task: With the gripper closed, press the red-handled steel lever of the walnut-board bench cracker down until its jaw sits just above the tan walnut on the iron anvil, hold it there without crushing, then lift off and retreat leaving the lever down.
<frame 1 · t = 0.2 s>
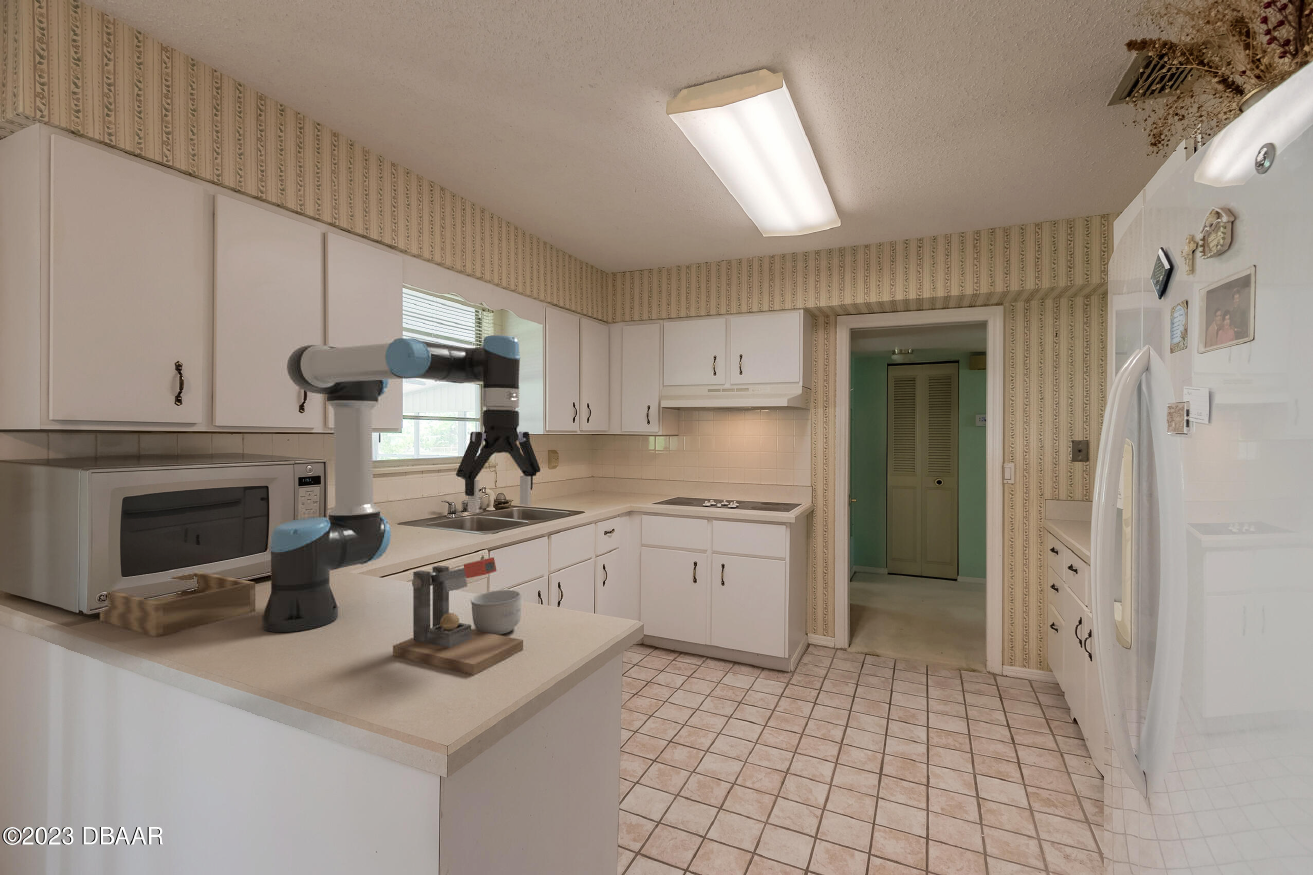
hand: (500, 508, 127), 28 cm above the countertop, fingers open, 13 cm apart
press base: (458, 652, 119), on the countertop
open wooden box: (179, 615, 142), on the countertop
lever: (458, 576, 119), point 15 cm above the countertop, hinge at -15.0°
walnut: (449, 621, 120), point 6 cm above the countertop, touching press base
teacup: (499, 629, 134), on the countertop
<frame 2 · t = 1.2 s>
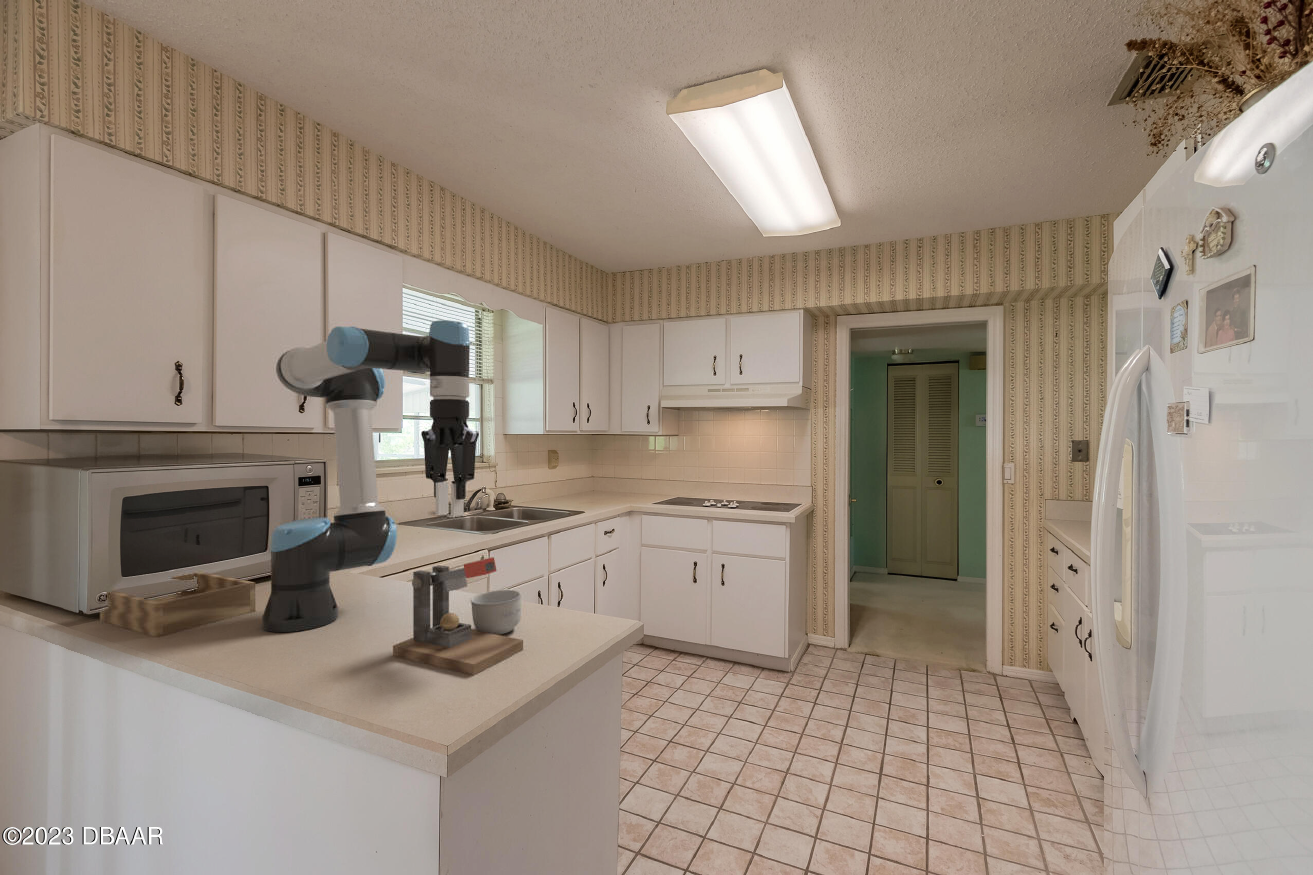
hand: (449, 514, 120), 28 cm above the countertop, fingers open, 3 cm apart
nothing on the countertop moved.
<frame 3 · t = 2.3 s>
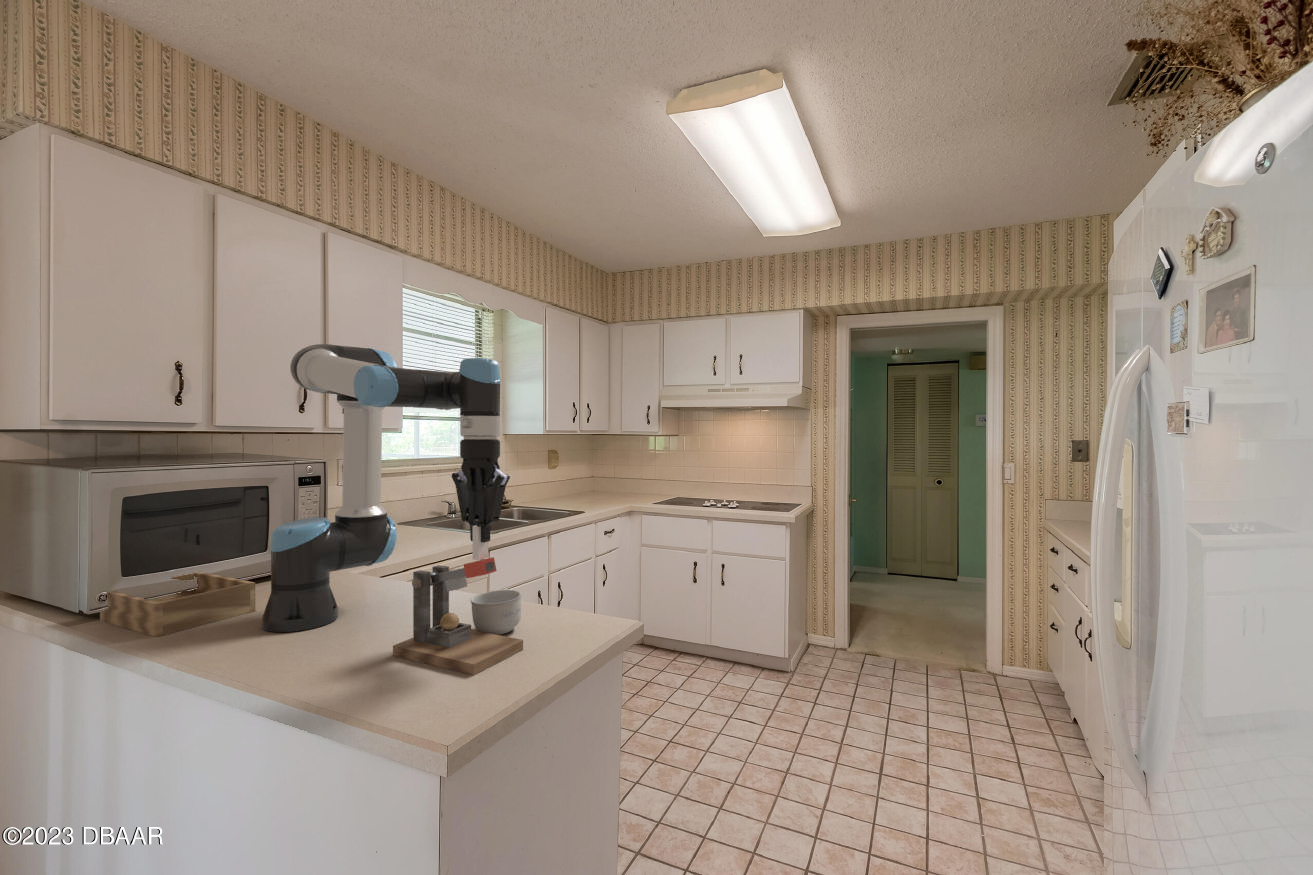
hand: (480, 558, 116), 20 cm above the countertop, fingers closed
lever: (458, 576, 119), point 15 cm above the countertop, hinge at -15.0°, touching gripper
everything else where it was.
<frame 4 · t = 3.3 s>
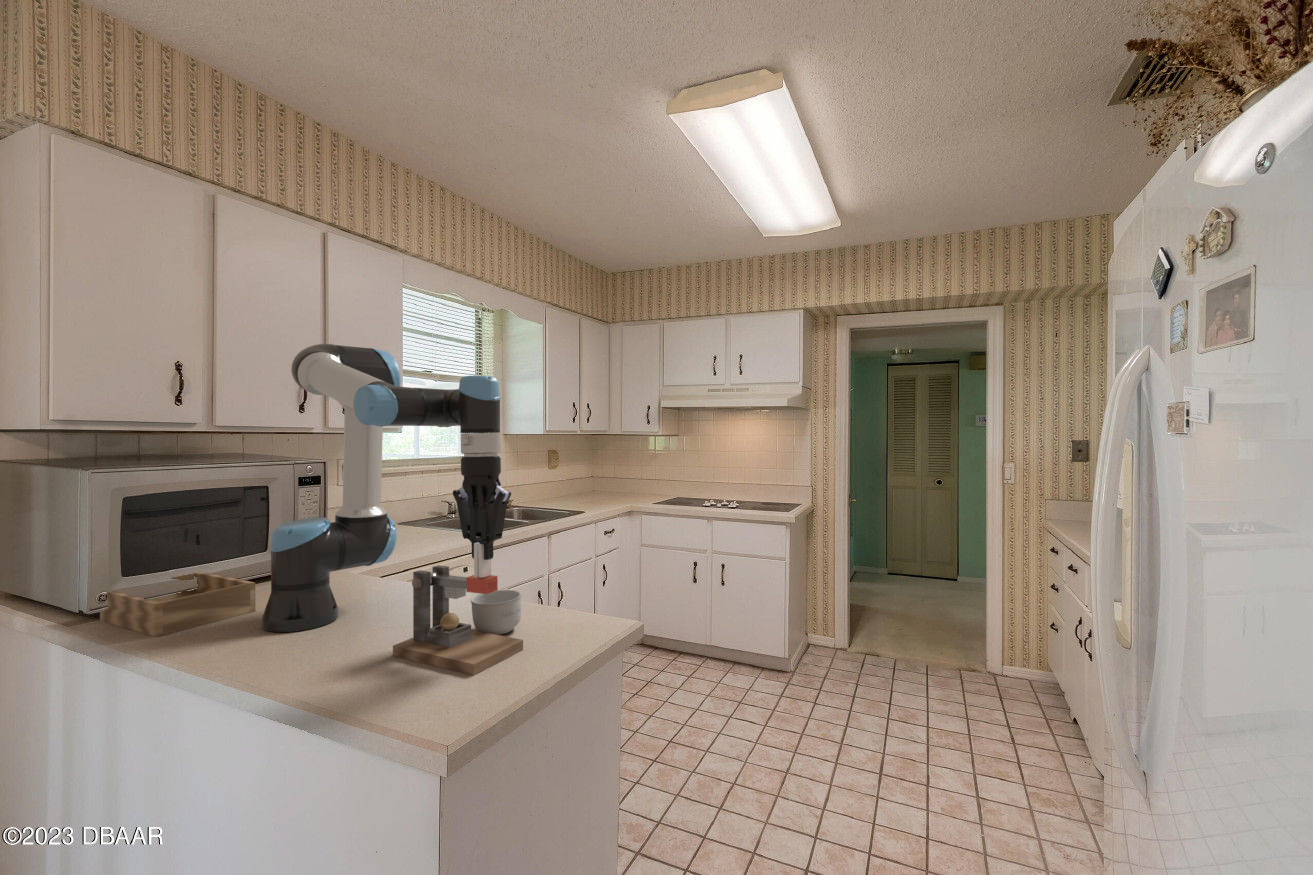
hand: (482, 575, 116), 16 cm above the countertop, fingers closed, pressing on lever
lever: (458, 585, 119), point 14 cm above the countertop, hinge at -1.6°, touching gripper
everything else where it was.
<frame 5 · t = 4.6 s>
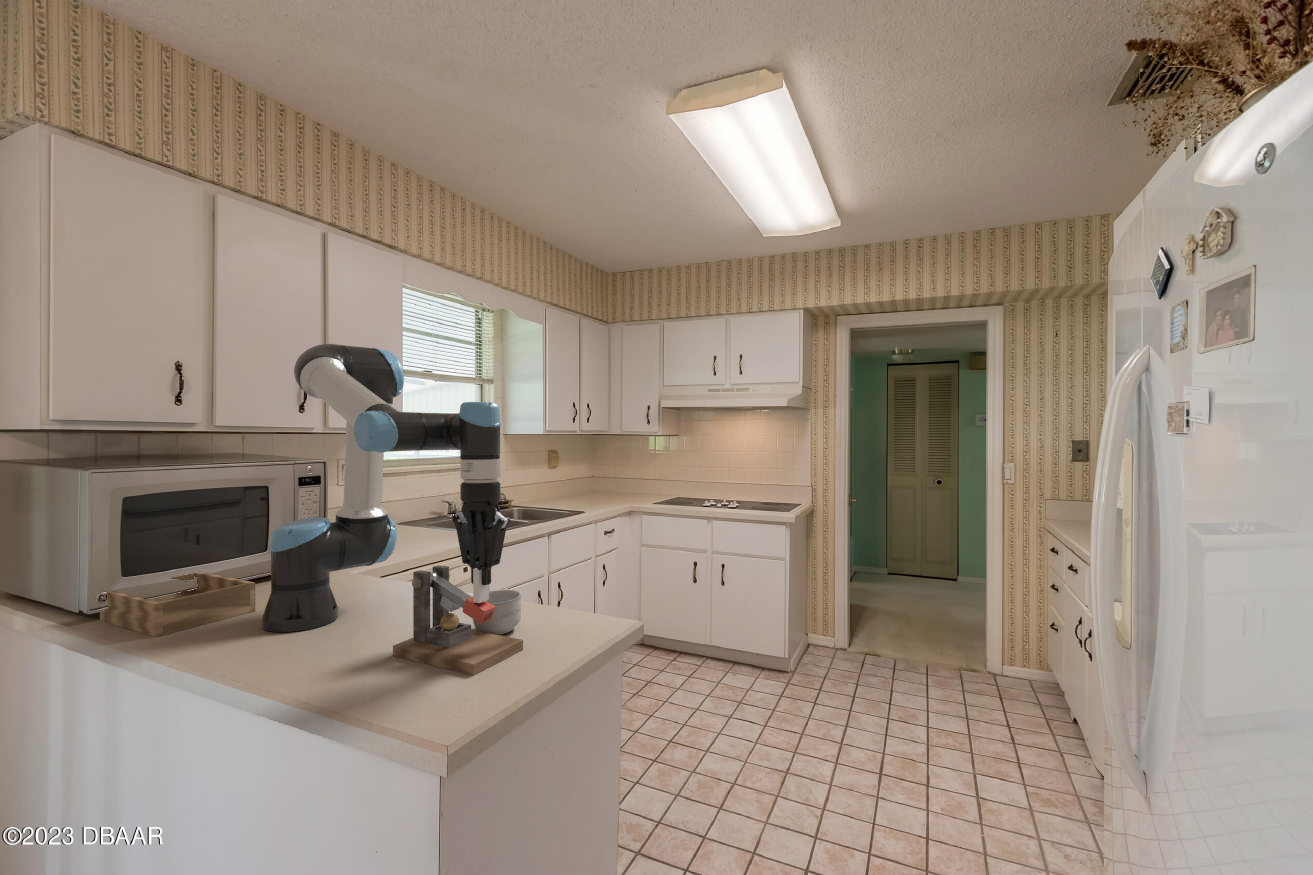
hand: (481, 600, 116), 11 cm above the countertop, fingers closed
lever: (455, 598, 119), point 11 cm above the countertop, hinge at 20.4°, touching gripper
everything else where it was.
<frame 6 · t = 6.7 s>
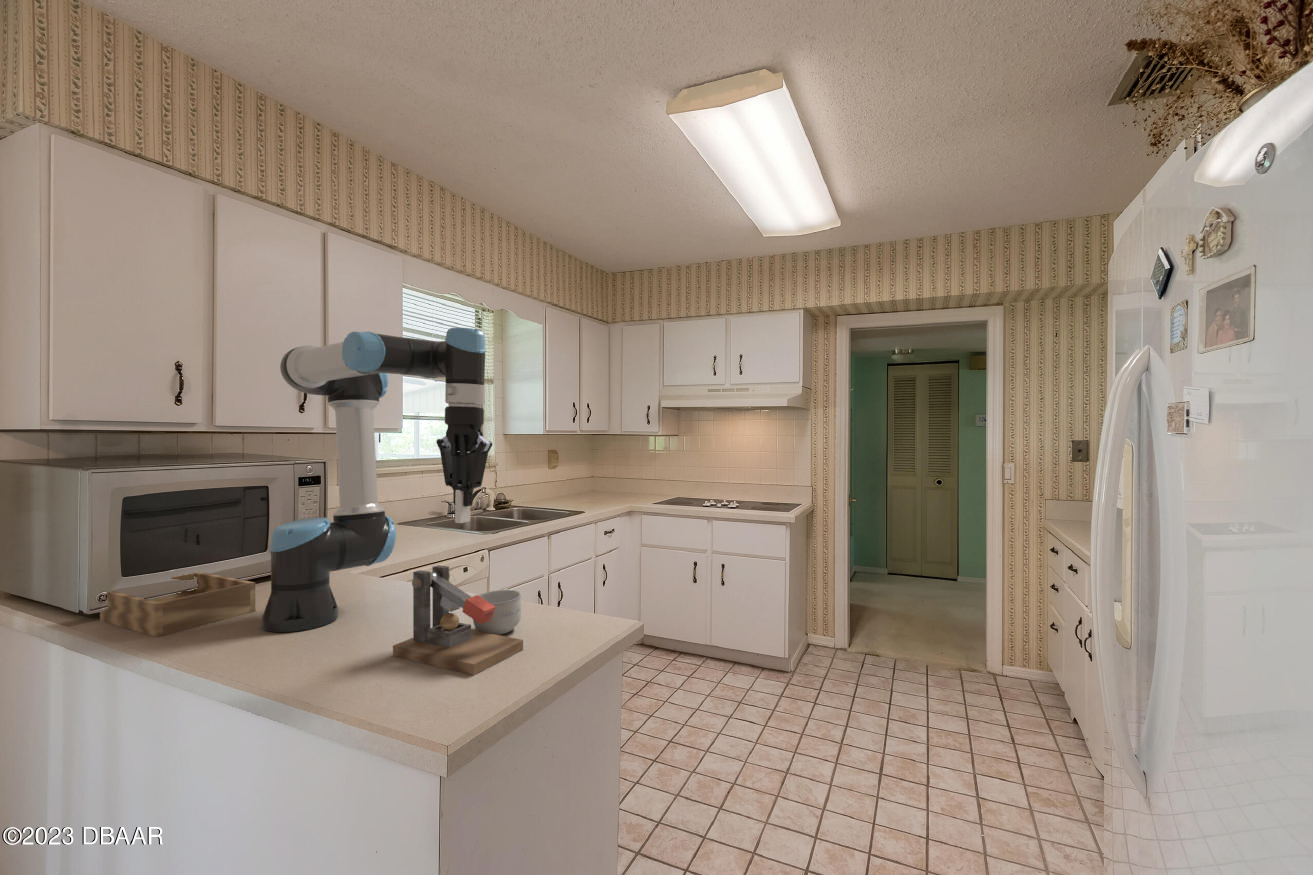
hand: (462, 521, 121), 26 cm above the countertop, fingers closed
lever: (455, 598, 119), point 11 cm above the countertop, hinge at 20.5°
everything else where it was.
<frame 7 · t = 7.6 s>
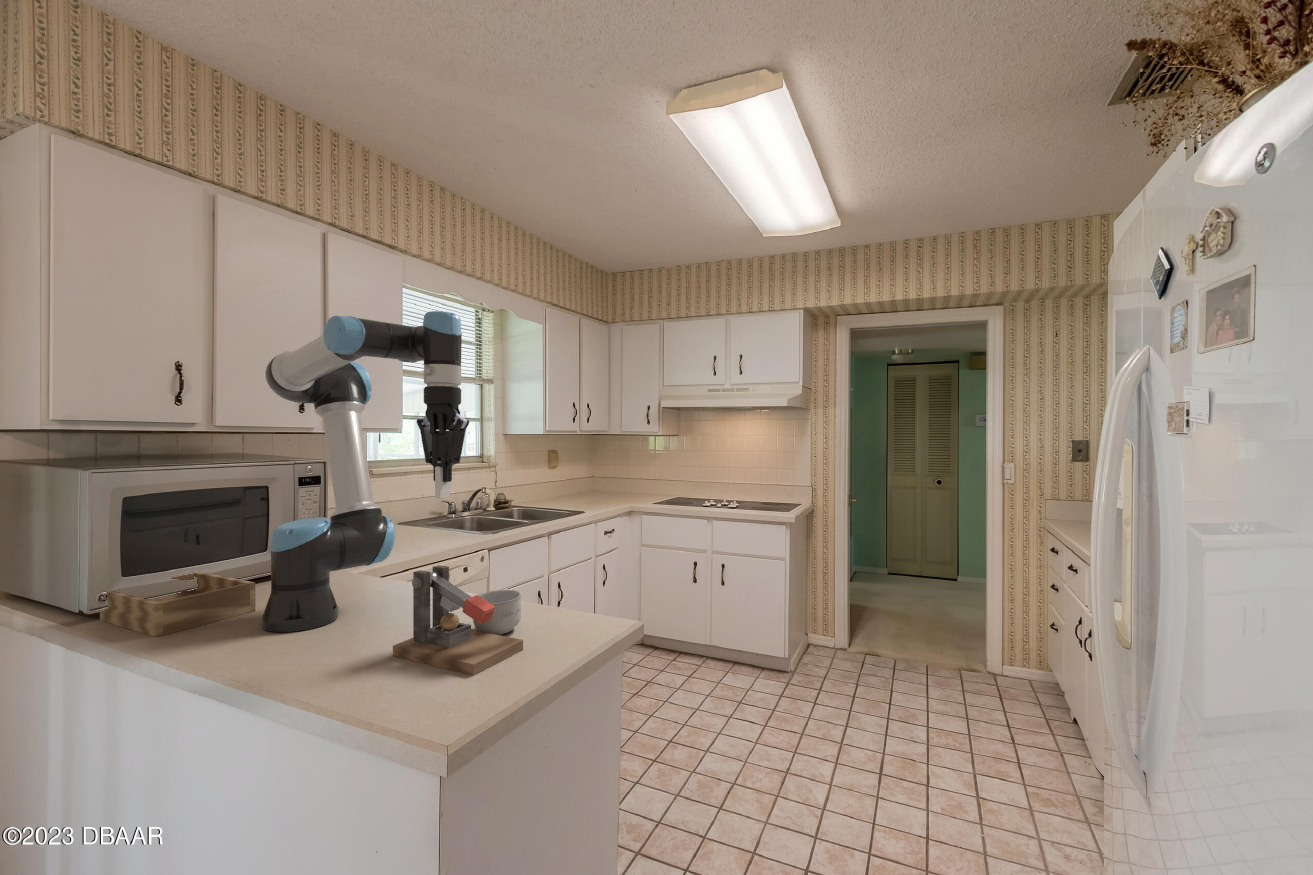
hand: (442, 497, 126), 30 cm above the countertop, fingers closed
nothing on the countertop moved.
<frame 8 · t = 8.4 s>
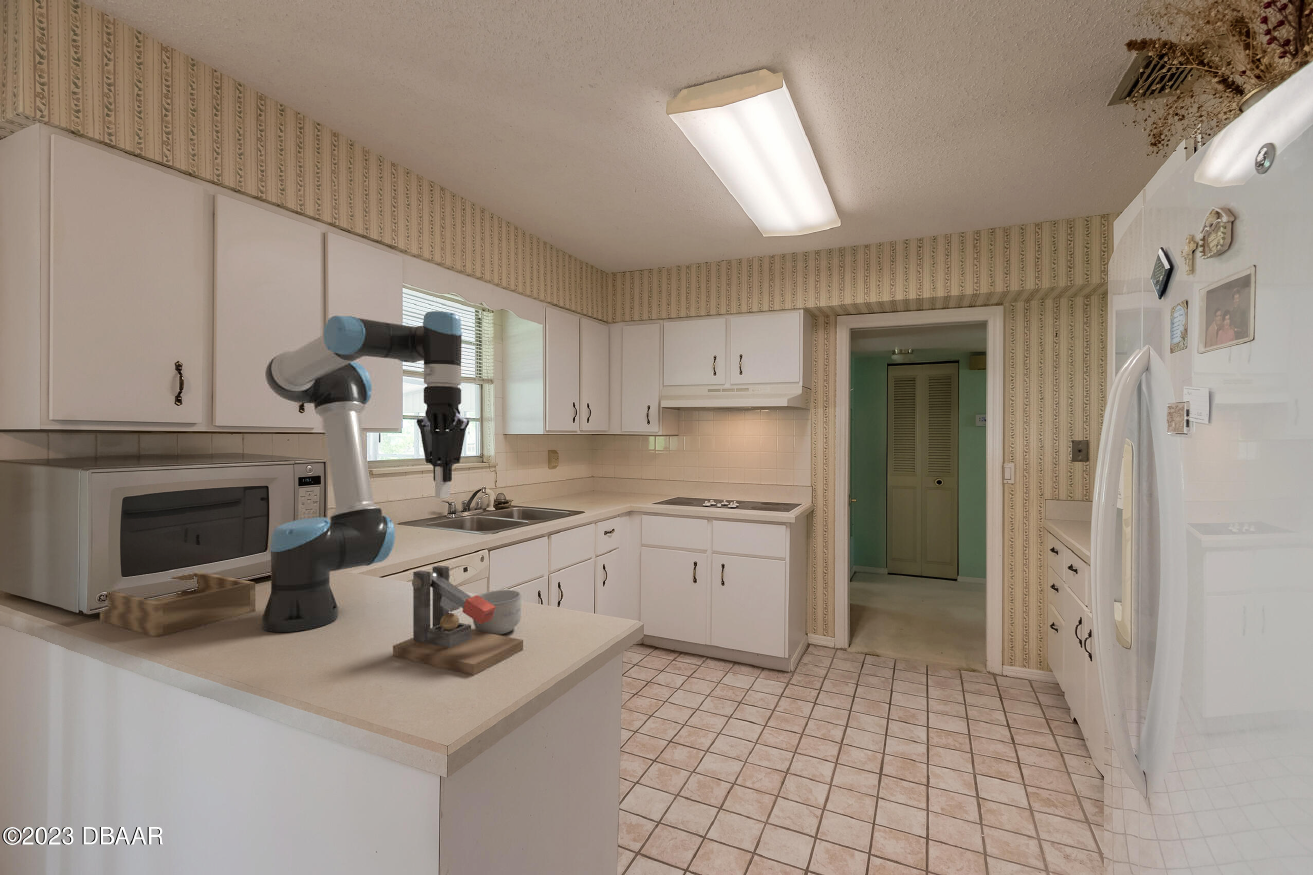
hand: (442, 497, 126), 30 cm above the countertop, fingers closed
nothing on the countertop moved.
at the end: lever at +20° (first picture: -15°); walnut moved 0.0 cm from its start; lever touching nothing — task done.
